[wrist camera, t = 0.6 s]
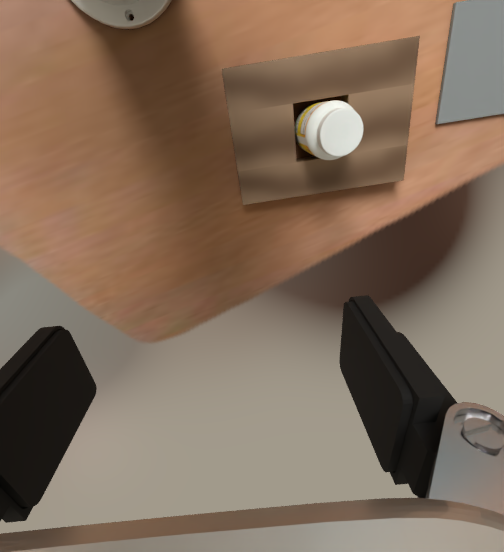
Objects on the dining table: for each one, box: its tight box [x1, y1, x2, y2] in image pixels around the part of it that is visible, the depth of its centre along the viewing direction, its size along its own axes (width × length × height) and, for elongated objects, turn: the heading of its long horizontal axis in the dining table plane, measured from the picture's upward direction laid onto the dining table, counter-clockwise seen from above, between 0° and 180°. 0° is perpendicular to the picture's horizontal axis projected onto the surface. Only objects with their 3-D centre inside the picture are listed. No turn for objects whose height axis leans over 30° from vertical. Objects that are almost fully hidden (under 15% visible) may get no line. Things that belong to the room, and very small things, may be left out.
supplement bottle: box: [294, 100, 363, 160], centre depth 30 cm, size 5×5×10 cm
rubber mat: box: [436, 0, 504, 124], centre depth 32 cm, size 11×11×1 cm
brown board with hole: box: [222, 36, 420, 205], centre depth 33 cm, size 14×20×2 cm
